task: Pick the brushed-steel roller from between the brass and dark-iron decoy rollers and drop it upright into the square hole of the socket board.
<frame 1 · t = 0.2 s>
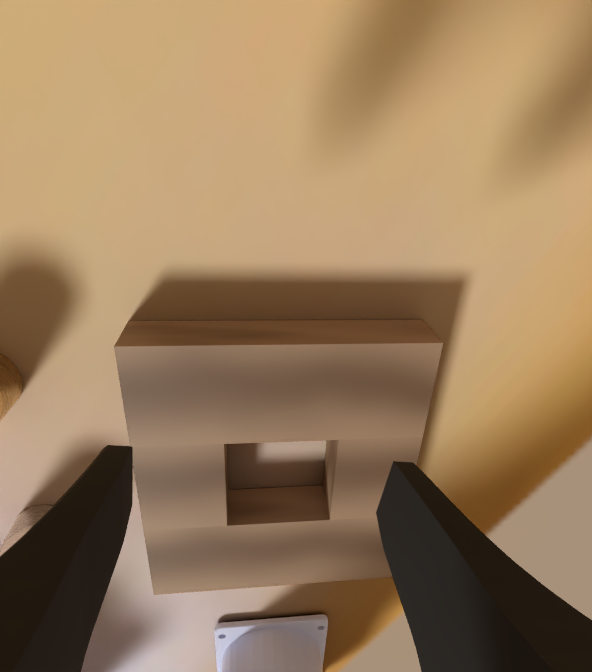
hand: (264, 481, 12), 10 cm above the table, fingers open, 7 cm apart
socket board: (277, 450, 24), on the table
steel roller: (49, 526, 25), on the table
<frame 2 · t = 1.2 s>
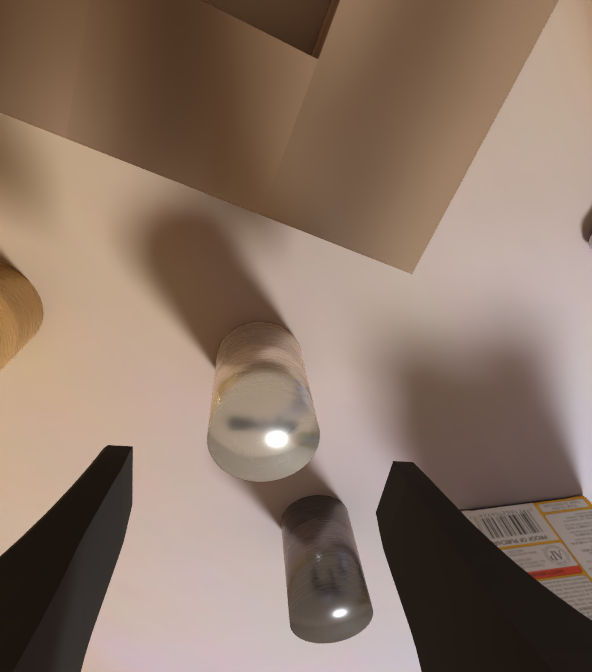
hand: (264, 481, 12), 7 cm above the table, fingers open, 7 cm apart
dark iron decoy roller: (314, 520, 23), on the table
steel roller: (259, 360, 18), on the table
crayon box: (514, 518, 25), on the table
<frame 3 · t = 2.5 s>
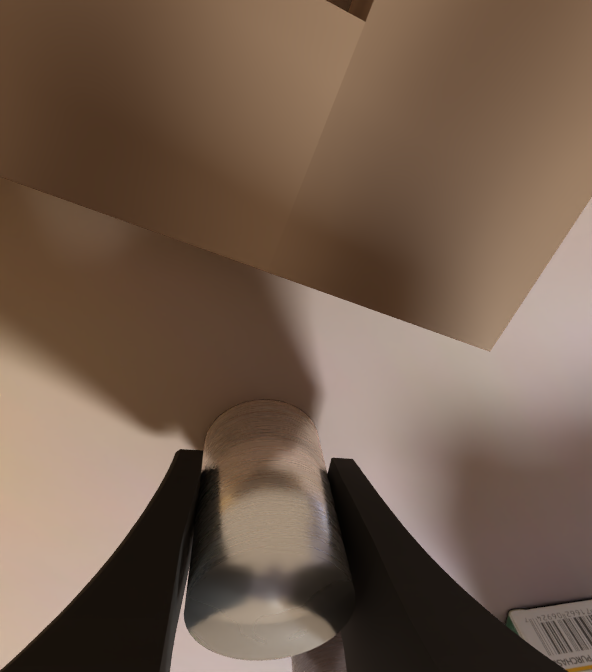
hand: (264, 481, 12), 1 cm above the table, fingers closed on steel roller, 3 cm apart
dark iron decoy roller: (331, 626, 18), on the table
steel roller: (262, 447, 13), on the table, touching gripper
crayon box: (575, 612, 20), on the table
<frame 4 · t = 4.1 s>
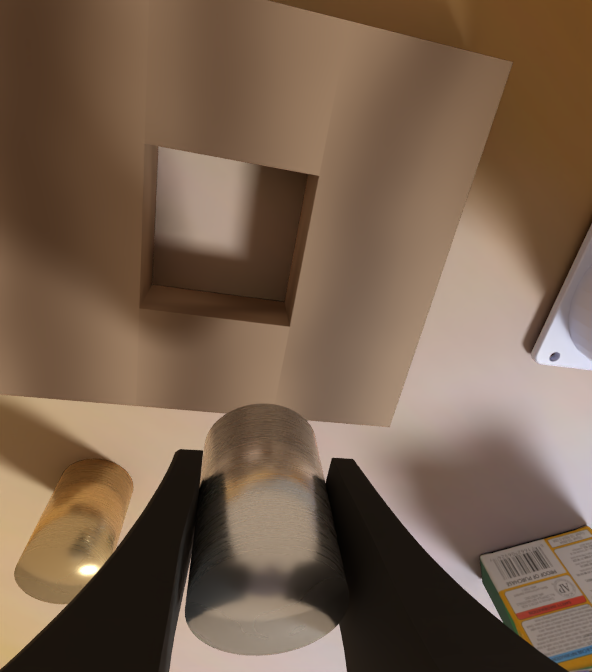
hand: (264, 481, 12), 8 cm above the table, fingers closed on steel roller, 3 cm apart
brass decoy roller: (97, 485, 22), on the table
socket board: (227, 228, 17), on the table
steel roller: (261, 449, 14), point 7 cm above the table, touching gripper
crayon box: (531, 551, 29), on the table
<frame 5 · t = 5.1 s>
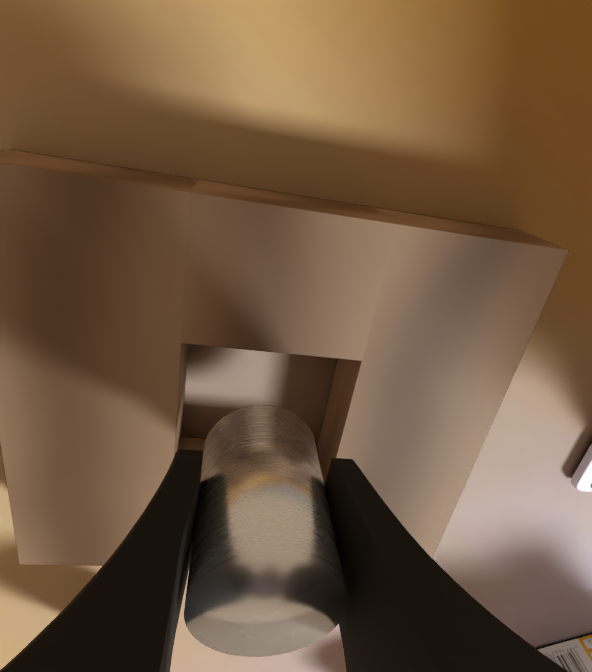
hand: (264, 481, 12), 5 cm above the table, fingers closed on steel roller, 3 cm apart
socket board: (260, 384, 17), on the table
steel roller: (260, 450, 14), point 3 cm above the table, touching gripper
crayon box: (564, 647, 28), on the table
when the fingers open (3 cm above the table, at t = 5.7 s): steel roller drops 2 cm, resting in socket board.
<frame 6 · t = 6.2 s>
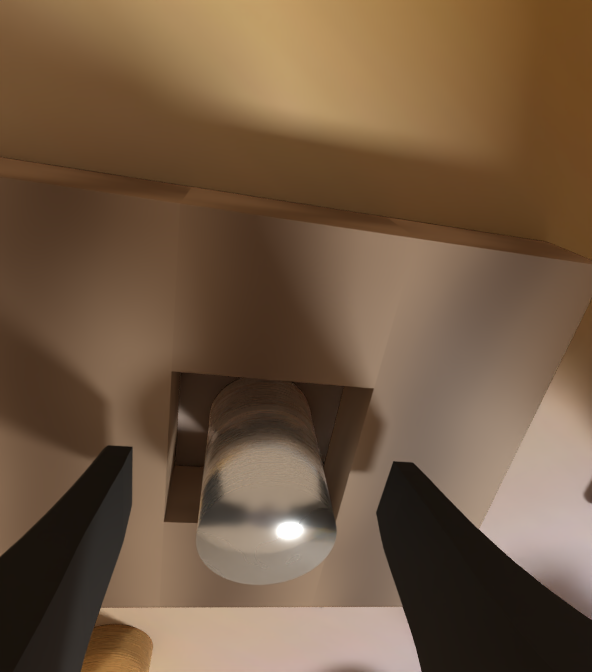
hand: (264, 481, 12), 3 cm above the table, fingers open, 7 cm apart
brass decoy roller: (113, 647, 20), on the table
socket board: (260, 408, 15), on the table
steel roller: (260, 417, 15), resting in socket board
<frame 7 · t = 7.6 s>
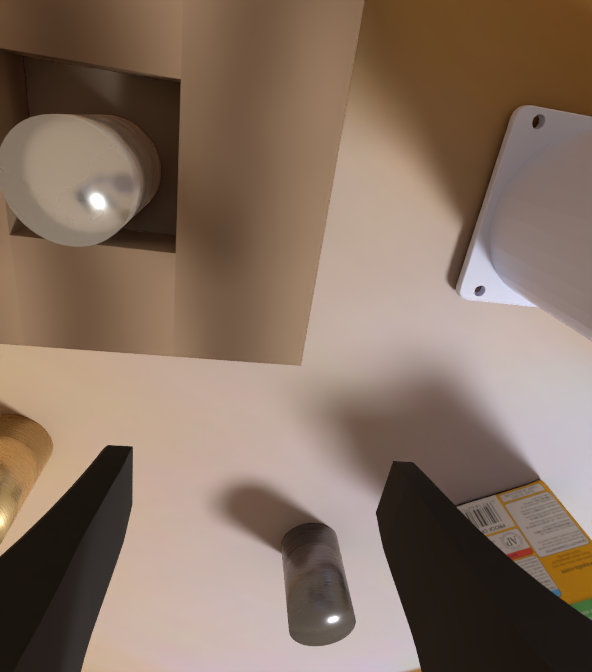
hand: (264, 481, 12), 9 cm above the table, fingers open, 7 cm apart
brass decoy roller: (14, 443, 22), on the table
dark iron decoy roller: (309, 543, 27), on the table
socket board: (111, 155, 16), on the table
steel roller: (113, 166, 17), resting in socket board
crayon box: (485, 508, 28), on the table
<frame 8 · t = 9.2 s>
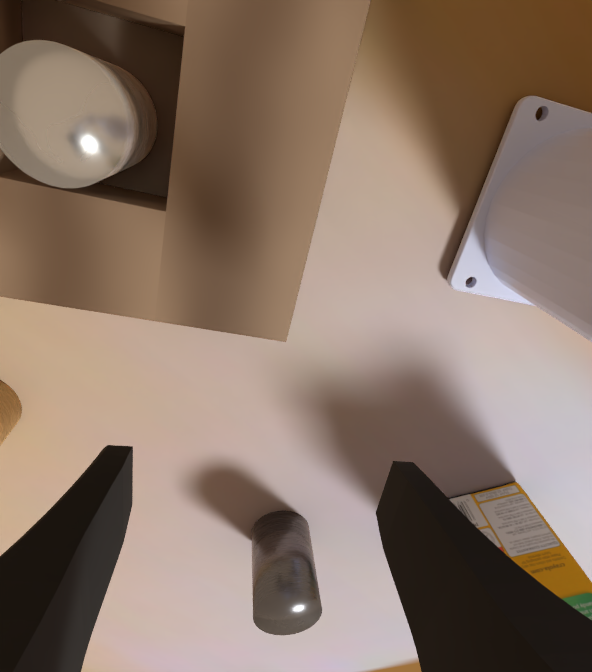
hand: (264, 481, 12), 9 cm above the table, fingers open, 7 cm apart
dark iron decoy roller: (280, 531, 27), on the table
socket board: (106, 106, 16), on the table
steel roller: (108, 118, 16), resting in socket board
crayon box: (459, 508, 28), on the table
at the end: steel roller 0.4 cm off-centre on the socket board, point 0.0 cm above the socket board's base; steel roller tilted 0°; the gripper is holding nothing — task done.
